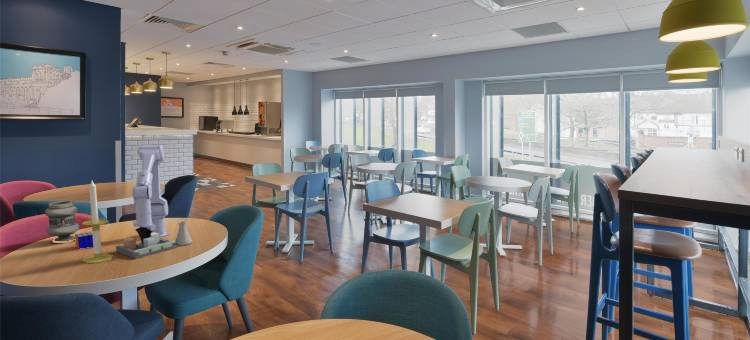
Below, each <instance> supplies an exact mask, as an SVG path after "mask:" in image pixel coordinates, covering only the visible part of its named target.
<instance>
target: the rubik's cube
mask: <svg viewBox="0 0 750 340" xmlns="http://www.w3.org/2000/svg"><path fill="white" fill-rule="evenodd" d="M74 235H75V236H74V237H75V238H76V241H75V247H76V246H77V247H78V248H79V249H80V248H85V249H88V248H87V247H90V248H94V247H93V234H92V231H87V232H81V233H76V234H75V233H74ZM77 247H76V248H77ZM78 248H77V249H78ZM79 249H78V250H79ZM80 250H81V249H80Z"/></svg>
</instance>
